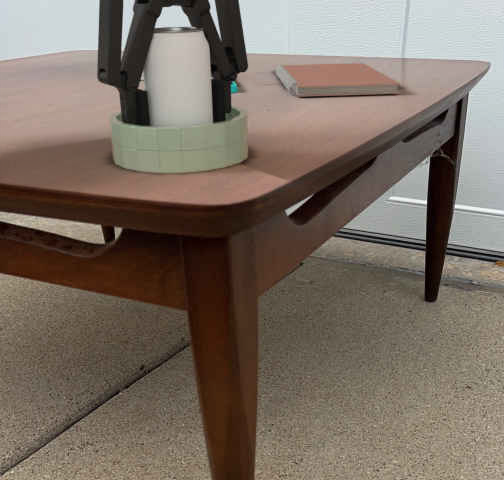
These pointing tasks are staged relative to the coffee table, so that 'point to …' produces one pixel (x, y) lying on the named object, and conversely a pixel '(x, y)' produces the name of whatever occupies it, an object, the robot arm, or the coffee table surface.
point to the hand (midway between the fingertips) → (181, 152)
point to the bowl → (180, 144)
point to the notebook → (335, 80)
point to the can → (178, 77)
